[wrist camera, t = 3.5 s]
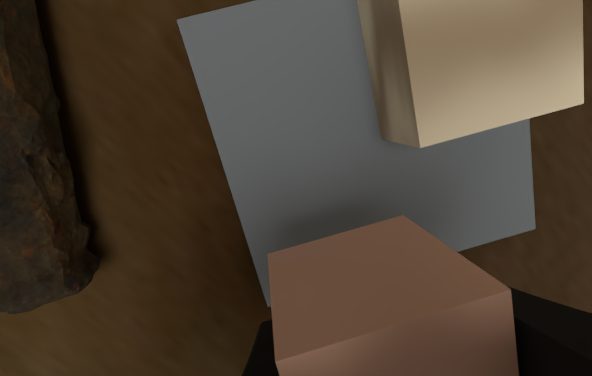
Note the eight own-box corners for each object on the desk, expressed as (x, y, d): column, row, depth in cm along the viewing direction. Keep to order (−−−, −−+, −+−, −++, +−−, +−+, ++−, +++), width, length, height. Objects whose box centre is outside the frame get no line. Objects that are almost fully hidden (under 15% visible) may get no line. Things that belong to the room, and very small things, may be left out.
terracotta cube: (423, 330, 11) (527, 466, 7) (302, 368, 11) (331, 533, 7) (402, 214, 10) (510, 289, 6) (267, 253, 10) (275, 362, 6)
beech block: (507, 105, 14) (583, 103, 11) (381, 139, 14) (420, 148, 11) (496, -44, 13) (581, -99, 10) (355, -9, 13) (390, -53, 9)
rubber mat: (527, 225, 17) (535, 228, 16) (267, 301, 16) (267, 307, 15) (509, -57, 13) (518, -64, 13) (179, 23, 13) (176, 19, 12)
